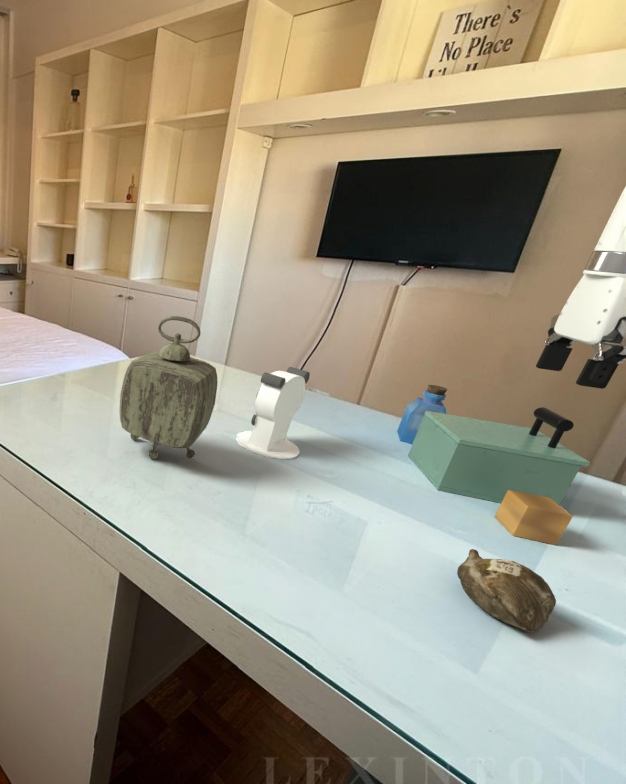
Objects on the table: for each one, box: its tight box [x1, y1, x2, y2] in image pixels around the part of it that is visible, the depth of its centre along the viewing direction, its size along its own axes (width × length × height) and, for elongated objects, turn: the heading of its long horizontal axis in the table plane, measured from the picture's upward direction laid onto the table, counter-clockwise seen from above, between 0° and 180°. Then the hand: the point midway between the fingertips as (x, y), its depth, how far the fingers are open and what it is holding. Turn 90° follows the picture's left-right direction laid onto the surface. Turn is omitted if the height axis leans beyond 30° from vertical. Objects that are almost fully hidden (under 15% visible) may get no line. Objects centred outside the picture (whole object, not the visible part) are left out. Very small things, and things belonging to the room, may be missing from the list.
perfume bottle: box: [396, 384, 448, 445], centre depth 95 cm, size 6×6×12 cm
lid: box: [425, 406, 591, 468], centre depth 77 cm, size 16×14×6 cm
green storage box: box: [407, 415, 582, 506], centre depth 79 cm, size 16×14×9 cm
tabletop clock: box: [119, 315, 218, 460], centre depth 78 cm, size 14×9×25 cm, turn 57°
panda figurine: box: [235, 366, 311, 460], centre depth 87 cm, size 12×11×15 cm
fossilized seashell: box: [456, 548, 557, 633], centre depth 52 cm, size 8×7×10 cm
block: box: [494, 490, 574, 546], centre depth 67 cm, size 5×5×5 cm
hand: (567, 377), depth 72 cm, fingers open, 9 cm apart
